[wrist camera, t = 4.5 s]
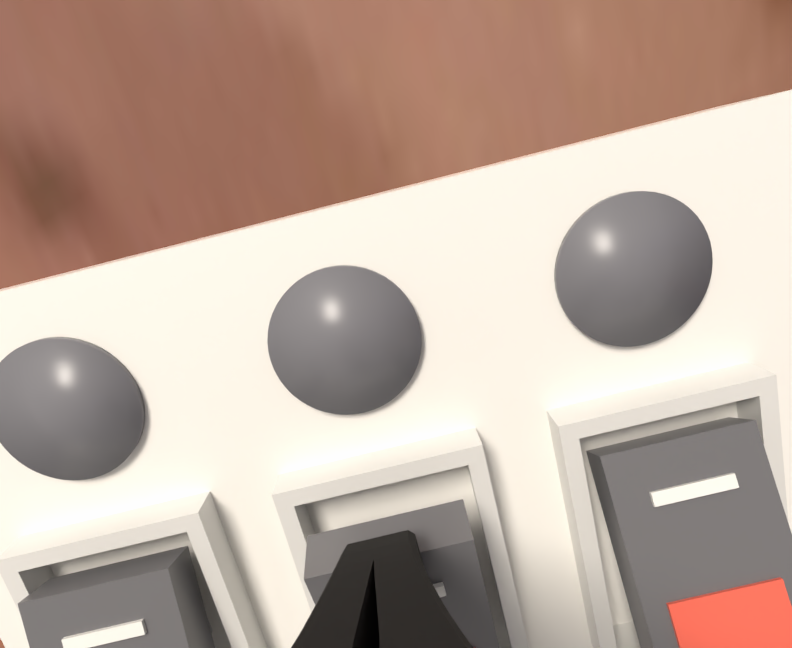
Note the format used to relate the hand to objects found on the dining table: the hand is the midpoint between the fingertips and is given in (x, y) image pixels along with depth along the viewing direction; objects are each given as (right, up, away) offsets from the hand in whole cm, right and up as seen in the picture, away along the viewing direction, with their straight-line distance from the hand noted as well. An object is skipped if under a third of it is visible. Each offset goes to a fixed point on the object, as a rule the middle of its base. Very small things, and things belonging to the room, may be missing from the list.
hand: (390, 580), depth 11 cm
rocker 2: (+7, 0, +1) cm, 7 cm away
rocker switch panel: (0, +2, +5) cm, 6 cm away
